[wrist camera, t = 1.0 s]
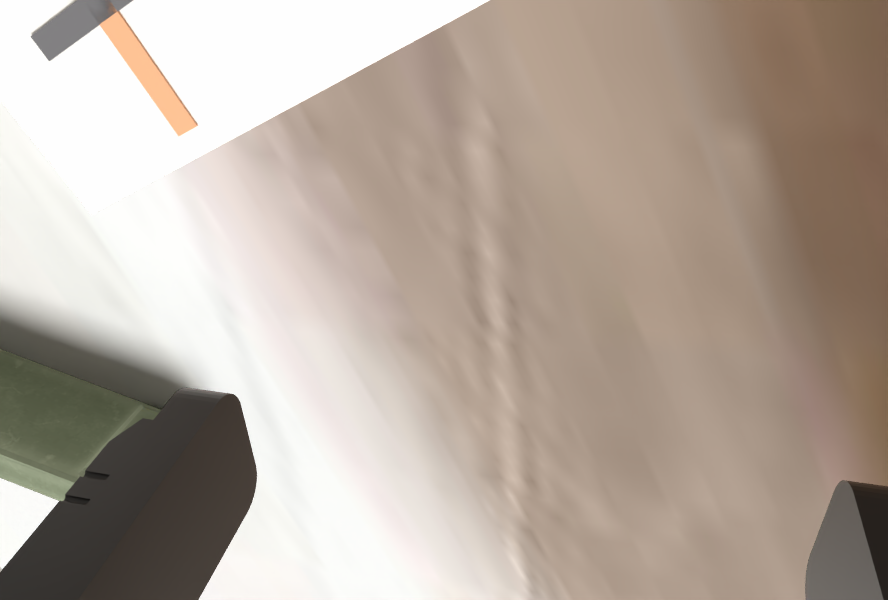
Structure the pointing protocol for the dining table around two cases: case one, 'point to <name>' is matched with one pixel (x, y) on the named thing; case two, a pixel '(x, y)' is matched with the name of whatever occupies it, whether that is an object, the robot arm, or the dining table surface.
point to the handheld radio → (56, 424)
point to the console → (180, 74)
